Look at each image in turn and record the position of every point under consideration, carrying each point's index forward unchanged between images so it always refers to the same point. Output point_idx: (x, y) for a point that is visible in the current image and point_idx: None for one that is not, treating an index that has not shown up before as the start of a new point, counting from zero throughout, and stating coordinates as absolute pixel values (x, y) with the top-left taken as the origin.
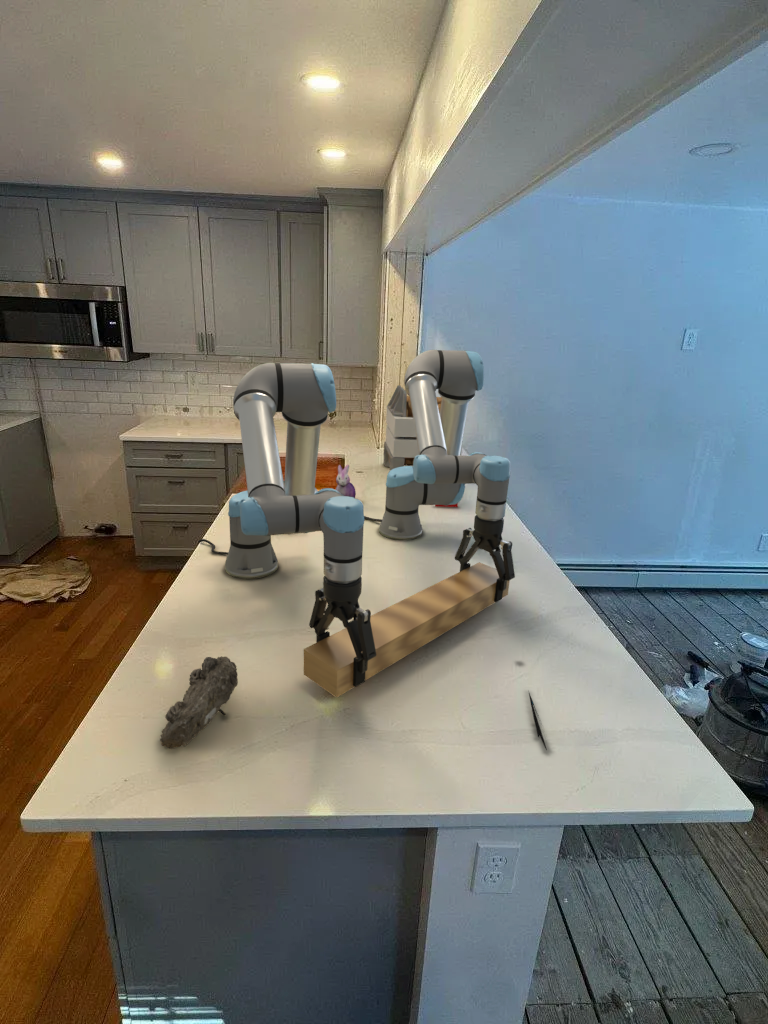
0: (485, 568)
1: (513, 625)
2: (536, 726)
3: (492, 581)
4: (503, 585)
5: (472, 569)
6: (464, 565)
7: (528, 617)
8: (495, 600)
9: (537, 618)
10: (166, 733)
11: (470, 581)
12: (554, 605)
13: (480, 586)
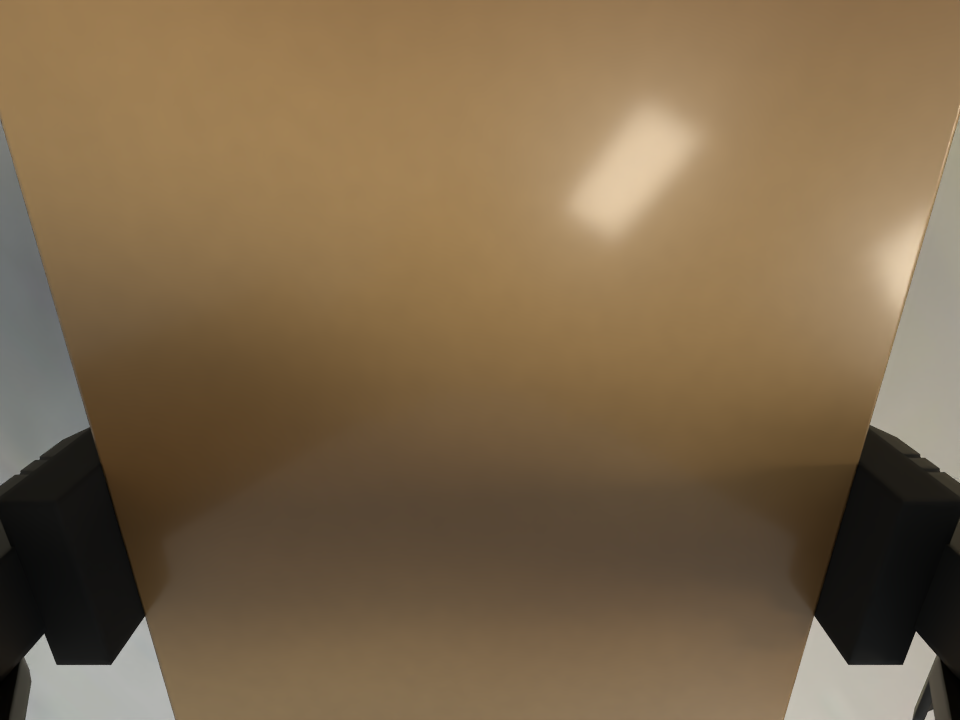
0: (573, 714)
1: (14, 226)
2: None
3: (159, 434)
4: (7, 483)
5: (729, 559)
6: (932, 536)
7: (60, 438)
8: None
9: (12, 474)
10: None
11: (454, 60)
12: (99, 692)
13: (106, 8)
